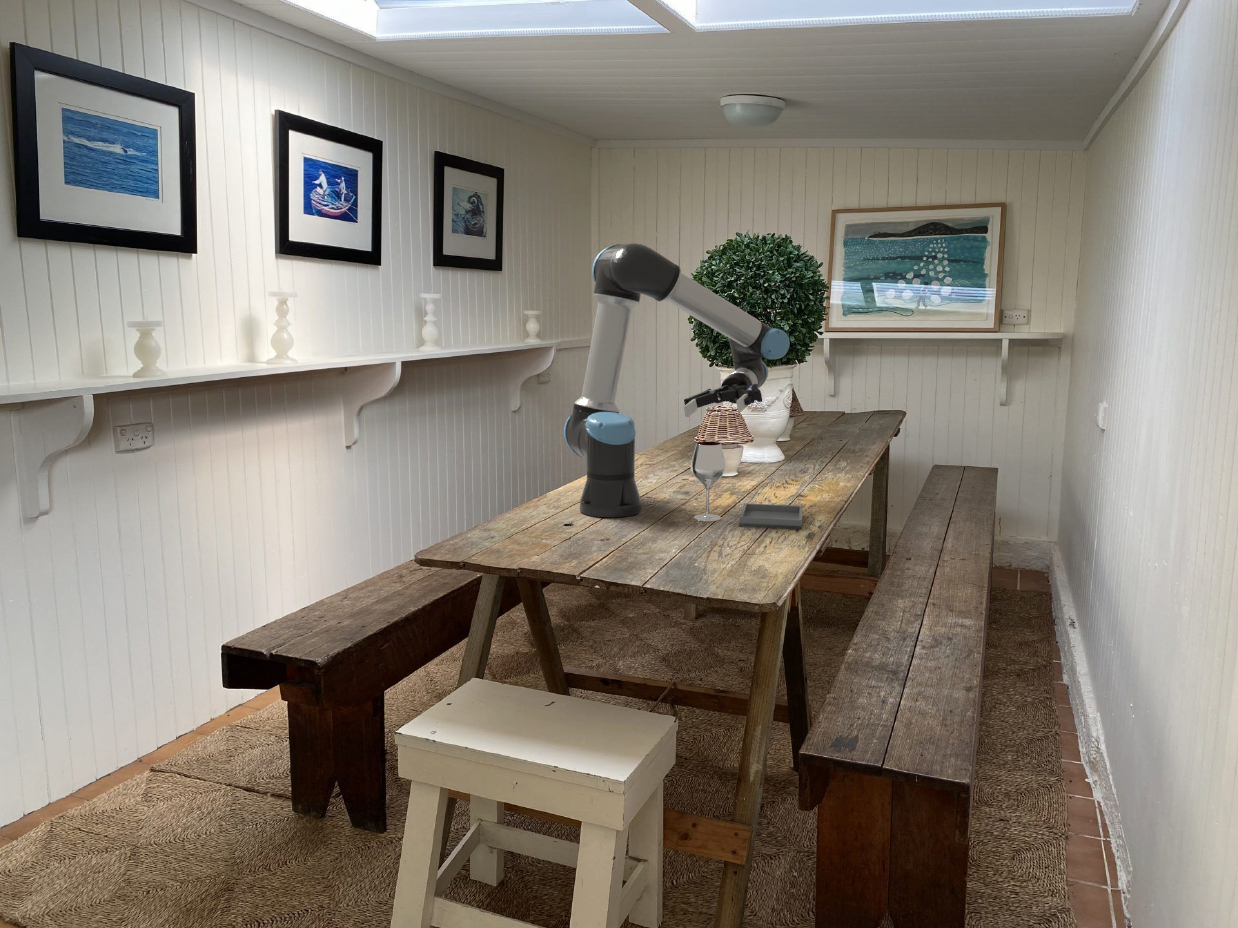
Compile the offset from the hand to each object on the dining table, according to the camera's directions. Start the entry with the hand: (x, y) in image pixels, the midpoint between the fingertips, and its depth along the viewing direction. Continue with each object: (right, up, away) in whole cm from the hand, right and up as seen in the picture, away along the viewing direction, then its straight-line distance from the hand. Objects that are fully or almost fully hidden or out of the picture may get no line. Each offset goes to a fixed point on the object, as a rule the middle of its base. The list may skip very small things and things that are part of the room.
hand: (711, 409), depth 229 cm
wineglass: (-1, -26, -4) cm, 27 cm away
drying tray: (+13, -26, -6) cm, 30 cm away
